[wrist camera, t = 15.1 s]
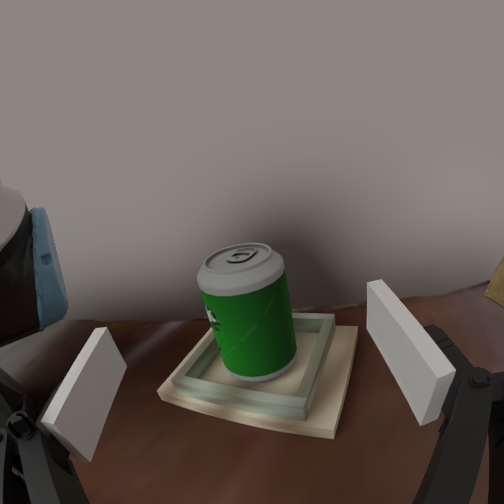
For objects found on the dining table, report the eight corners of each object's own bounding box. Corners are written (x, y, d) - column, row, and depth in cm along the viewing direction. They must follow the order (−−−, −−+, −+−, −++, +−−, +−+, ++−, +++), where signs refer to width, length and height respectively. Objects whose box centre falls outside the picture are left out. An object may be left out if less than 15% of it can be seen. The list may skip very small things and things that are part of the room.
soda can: (309, 345, 30) (294, 238, 26) (280, 396, 24) (255, 279, 20) (247, 336, 34) (223, 239, 30) (212, 379, 28) (175, 273, 24)
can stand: (162, 400, 28) (149, 377, 27) (221, 327, 40) (214, 305, 38) (333, 439, 20) (333, 416, 19) (358, 336, 32) (357, 311, 31)
